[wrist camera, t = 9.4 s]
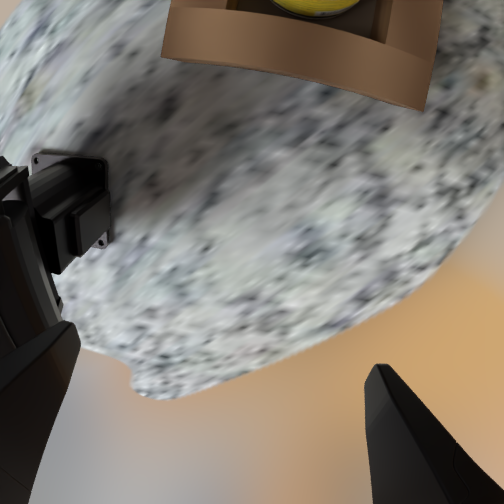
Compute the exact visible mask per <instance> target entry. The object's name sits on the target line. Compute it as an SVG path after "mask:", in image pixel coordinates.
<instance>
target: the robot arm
mask: <svg viewBox="0 0 504 504" xmlns="http://www.w3.org/2000/svg"><path fill="white" fill-rule="evenodd" d="M37 158H38V160H39V162H38V161H37ZM31 163H32V175H31V176H29V171H28V166H20V167H17V166H12V164H9V162H8V161H7V160H6V159H5V158H4V157H3V156H0V504H28V502H29V498H30V495H31V491H32V487H33V484H34V481H35V477H36V474H37V471H38V468H39V465H40V462H41V459H42V455H43V453H44V450H45V447H46V444H47V441H48V438H49V436H50V433H51V430H52V427H53V425H54V422H55V419H56V417H57V414H58V412H59V409H60V406H61V404H62V401H63V399H64V396H65V394H66V392H67V389H68V386H69V383H70V379H71V376H72V373H73V370H74V366H75V363H76V360H77V357H78V354H79V351H80V347H81V341H80V338H79V335H78V332H77V329H76V326H75V324H74V323H72V322H69V321H65V320H63V319H62V317H61V312H62V308H63V302H62V300H61V297H59V296H58V293H57V290H56V287H55V284H54V281H53V278H52V275H51V273H54V274H57V275H60V274H61V273H62V272H63V271H64V270H65V268H66V267H67V266H68V265H69V264H70V263H71V262H72V261H73V260H74V259H75V258H76V257H82V256H83V255H84V254H85V253H86V252H87V251H88V249H89V248H90V247H94V248H99V249H105V248H106V247H107V246H108V245H109V228H110V226H111V219H110V193H109V191H108V163H107V161H106V160H105V159H104V158H100V157H89V156H78V155H65V154H51V153H37V154H34V155H33V156H32V160H31ZM99 163H100V164H101V165H102V169H100V168H99V166H98V164H99ZM101 240H102V241H103V242H104V243H102V242H101ZM364 391H365V430H366V439H367V447H368V456H369V465H370V475H371V486H372V498H373V504H504V490H503V489H502V488H501V487H500V486H499V485H498V484H497V483H496V482H495V481H494V480H493V479H492V478H490V476H488V475H487V474H486V473H485V472H484V471H483V470H482V469H481V468H480V467H479V466H478V465H477V464H476V463H475V462H474V461H473V460H472V458H471V457H470V456H469V455H468V454H467V453H466V452H465V451H464V450H463V448H462V447H461V446H460V445H459V444H458V443H456V440H455V439H454V438H453V437H452V436H451V434H450V433H449V432H448V431H447V430H446V429H445V428H444V426H443V425H442V424H441V423H440V422H439V421H438V419H437V418H436V417H435V416H434V415H433V414H432V413H431V411H430V410H429V409H428V408H427V407H426V406H425V405H424V403H423V402H422V401H421V400H420V399H419V398H418V397H417V395H416V394H415V393H414V392H413V391H412V390H411V389H410V388H409V386H408V385H407V384H406V383H405V382H404V381H403V380H402V379H401V378H400V376H399V375H398V374H397V373H396V372H395V371H394V370H393V368H392V367H391V366H390V365H388V364H375V365H374V367H373V368H372V370H371V372H370V373H369V375H368V377H367V379H366V381H365V385H364Z"/></svg>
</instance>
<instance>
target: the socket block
mask: <svg viewBox="0 0 504 504" xmlns="http://www.w3.org/2000/svg"><path fill="white" fill-rule="evenodd" d="M442 7H443V0H359V2H357V3H356V4H355V5H354V6H353V7H352V8H351V9H349V10H348V11H346V12H345V13H343V14H341V15H338V16H336V17H332V18H327V19H307V18H302V17H299V16H295V15H292V14H290V13H288V12H286V11H284V10H282V9H280V8H279V7H277V6H276V5H275V4H273V3H272V2H271V1H270V0H171V4H170V9H169V14H168V19H167V24H166V29H165V35H164V40H163V46H162V52H161V57H162V58H167V59H172V60H177V61H181V62H188V63H200V64H211V65H220V66H228V67H236V68H243V69H250V70H256V71H263V72H268V73H274V74H279V75H284V76H289V77H294V78H299V79H304V80H308V81H312V82H317V83H321V84H325V85H329V86H333V87H336V88H340V89H344V90H347V91H351V92H354V93H358V94H361V95H365V96H368V97H371V98H374V99H377V100H380V101H383V102H386V103H389V104H392V105H396V106H400V107H405V108H409V109H413V110H417V111H421V112H423V111H424V107H425V103H426V98H427V94H428V90H429V85H430V80H431V75H432V70H433V65H434V60H435V54H436V49H437V43H438V36H439V30H440V23H441V15H442Z"/></svg>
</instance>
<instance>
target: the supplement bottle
mask: <svg viewBox="0 0 504 504" xmlns="http://www.w3.org/2000/svg"><path fill="white" fill-rule="evenodd" d="M270 1H271V2H272V3H273V4H275V5H276V6H277V7H279V8H280V9H282V10H284V11H286V12H288V13H290V14H292V15H295V16H299V17H302V18H307V19H327V18H332V17H336V16H338V15H341V14H343V13H345V12H346V11H348V10H349V9H351V8H352V7H353V6H354V5H355V4H356V3H357V2H359V0H270Z"/></svg>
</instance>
